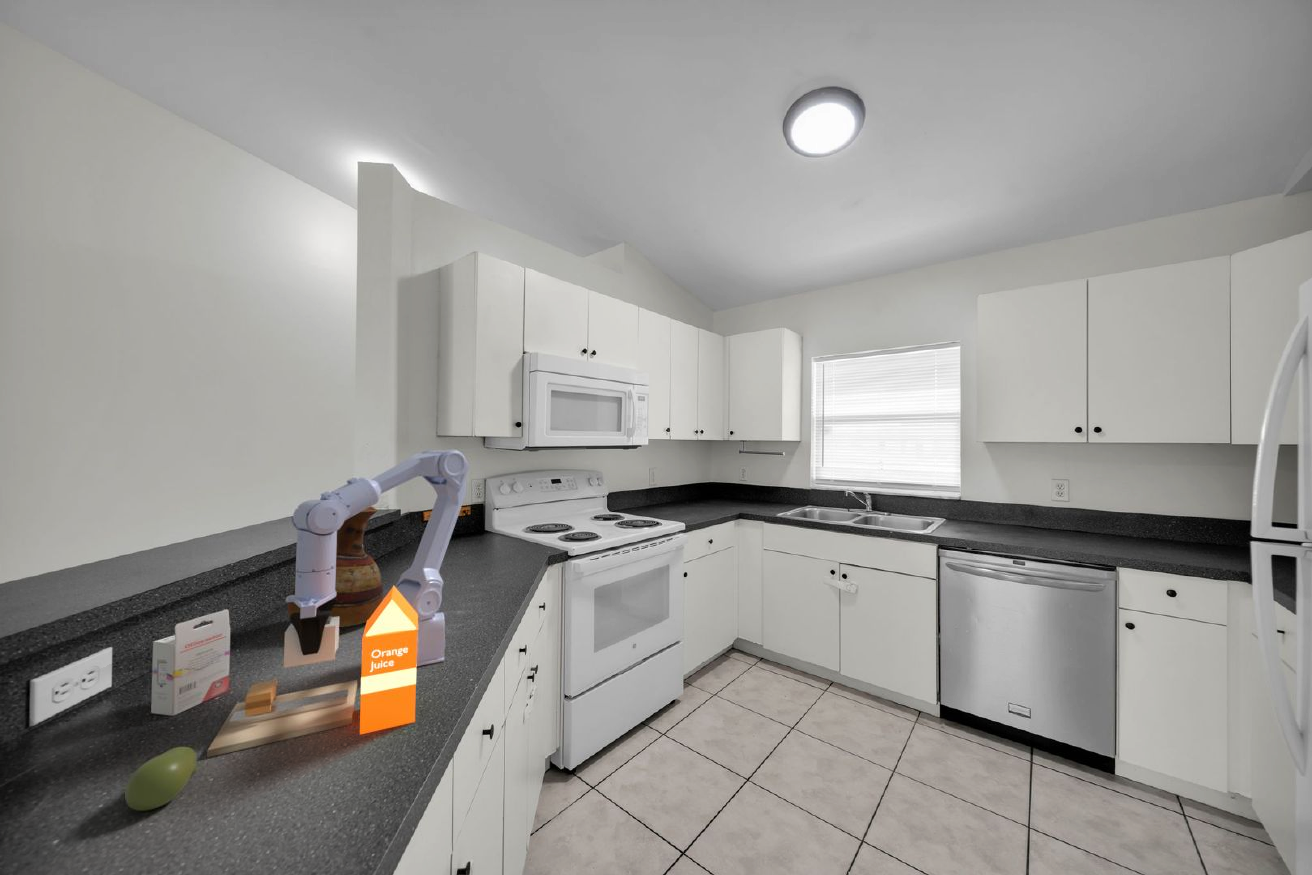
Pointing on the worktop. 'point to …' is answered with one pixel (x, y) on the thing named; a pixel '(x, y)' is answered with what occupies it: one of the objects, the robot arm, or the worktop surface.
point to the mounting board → (285, 722)
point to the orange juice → (389, 665)
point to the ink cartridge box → (191, 664)
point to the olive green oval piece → (160, 779)
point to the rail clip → (260, 698)
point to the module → (325, 652)
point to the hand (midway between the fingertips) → (313, 647)
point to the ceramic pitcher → (353, 575)
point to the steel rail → (292, 707)
